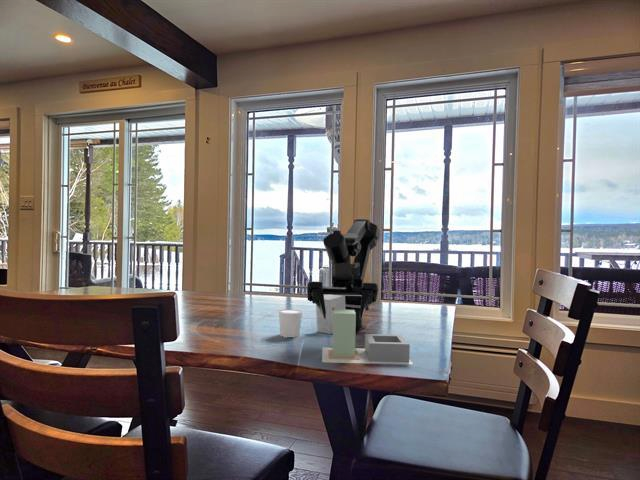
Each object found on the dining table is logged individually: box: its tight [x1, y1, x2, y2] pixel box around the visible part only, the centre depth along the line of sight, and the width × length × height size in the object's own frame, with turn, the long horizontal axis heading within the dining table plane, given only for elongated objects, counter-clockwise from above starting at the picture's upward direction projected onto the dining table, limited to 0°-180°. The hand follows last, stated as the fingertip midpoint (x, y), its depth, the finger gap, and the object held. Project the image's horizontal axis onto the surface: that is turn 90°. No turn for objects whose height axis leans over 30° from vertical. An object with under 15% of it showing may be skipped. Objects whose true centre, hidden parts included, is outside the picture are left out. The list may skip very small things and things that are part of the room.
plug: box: [332, 309, 357, 357], centre depth 93 cm, size 5×5×10 cm
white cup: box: [278, 309, 303, 338], centre depth 115 cm, size 7×7×7 cm
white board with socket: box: [321, 333, 414, 366], centre depth 92 cm, size 12×20×5 cm, turn 89°
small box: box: [315, 294, 346, 335], centre depth 121 cm, size 8×6×10 cm
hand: (342, 318), depth 100 cm, fingers open, 9 cm apart
